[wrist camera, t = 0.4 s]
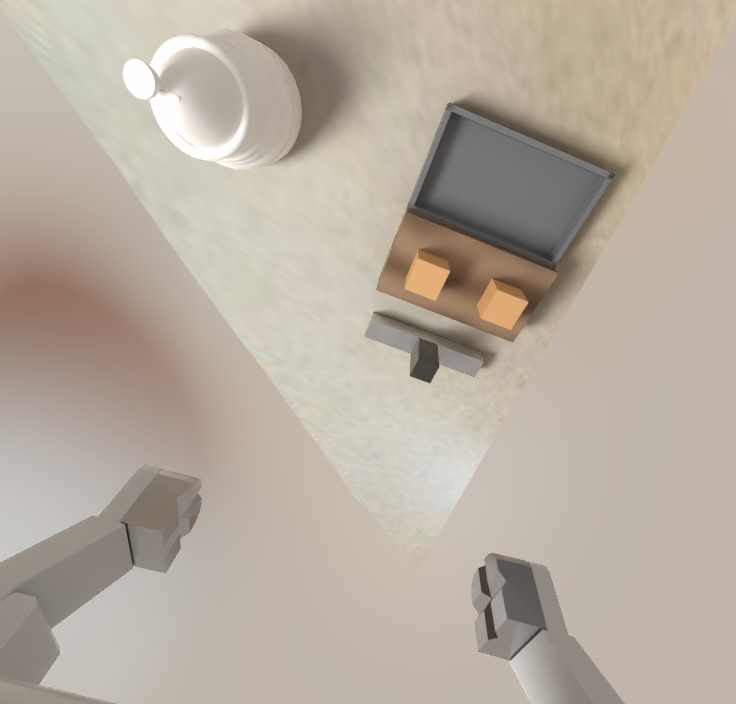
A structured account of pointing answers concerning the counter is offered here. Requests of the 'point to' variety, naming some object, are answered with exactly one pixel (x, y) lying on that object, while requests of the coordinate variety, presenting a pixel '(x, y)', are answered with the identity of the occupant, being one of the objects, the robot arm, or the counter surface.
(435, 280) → the block
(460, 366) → the grey stick with cube
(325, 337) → the counter surface
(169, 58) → the honey pot
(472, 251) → the ledge
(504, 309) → the block
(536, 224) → the tray
